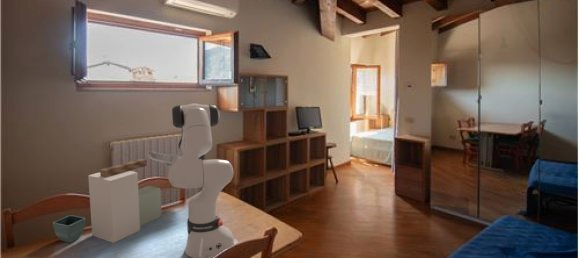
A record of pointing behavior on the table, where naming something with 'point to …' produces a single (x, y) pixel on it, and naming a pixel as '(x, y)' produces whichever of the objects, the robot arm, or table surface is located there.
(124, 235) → the tall white pillar
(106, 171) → the walnut bar
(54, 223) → the flower pot
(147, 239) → the table surface
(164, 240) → the table surface
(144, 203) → the step
